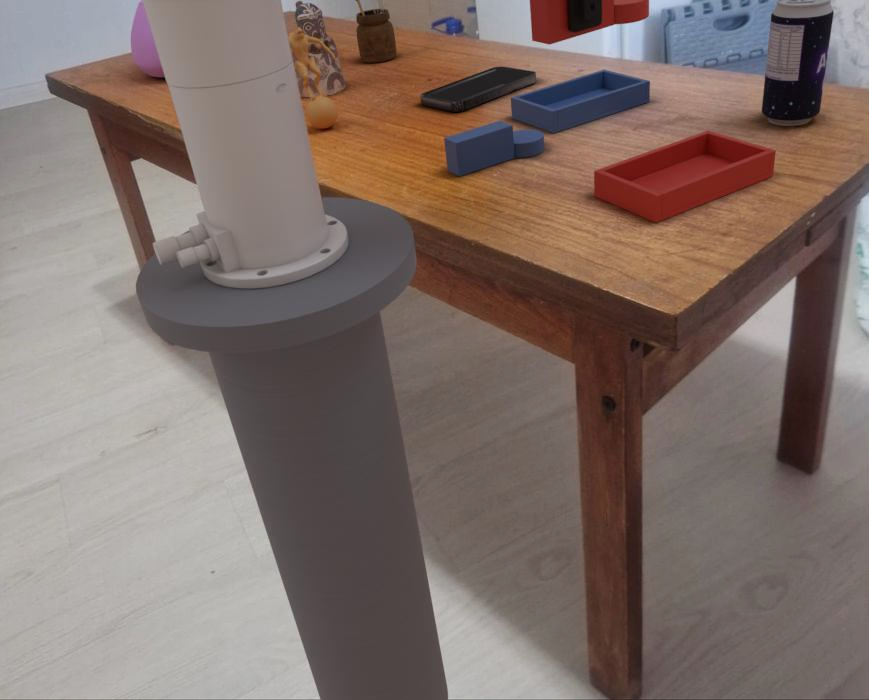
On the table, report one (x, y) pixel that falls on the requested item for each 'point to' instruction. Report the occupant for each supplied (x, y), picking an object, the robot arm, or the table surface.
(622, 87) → the blue tray
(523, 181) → the table surface
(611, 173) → the red tray
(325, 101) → the figurine
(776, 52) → the beverage can
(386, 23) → the utensil holder
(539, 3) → the red block with disc
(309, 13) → the figurine
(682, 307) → the table surface
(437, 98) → the phone
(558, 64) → the table surface
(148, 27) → the teapot
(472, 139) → the blue block with disc
